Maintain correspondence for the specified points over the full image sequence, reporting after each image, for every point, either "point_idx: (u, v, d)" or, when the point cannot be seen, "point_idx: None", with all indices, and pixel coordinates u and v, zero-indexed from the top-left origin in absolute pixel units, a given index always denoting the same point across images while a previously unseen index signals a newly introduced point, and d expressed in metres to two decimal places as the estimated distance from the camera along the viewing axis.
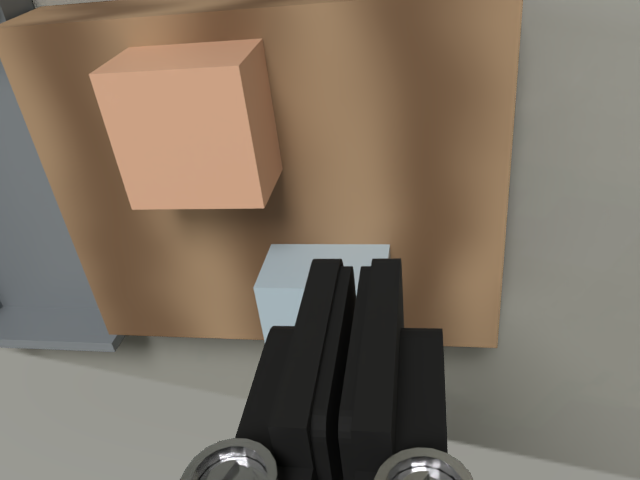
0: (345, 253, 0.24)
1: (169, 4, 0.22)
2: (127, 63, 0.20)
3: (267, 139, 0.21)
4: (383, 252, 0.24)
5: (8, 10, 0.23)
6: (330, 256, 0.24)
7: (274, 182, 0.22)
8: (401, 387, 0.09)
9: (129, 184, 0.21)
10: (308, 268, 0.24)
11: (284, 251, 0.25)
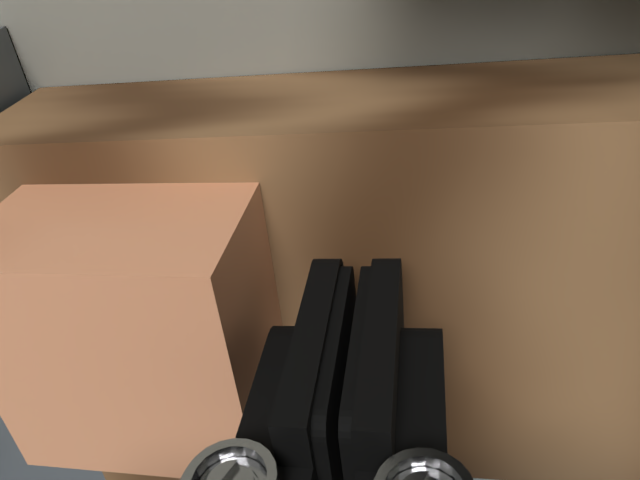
0: None
1: (277, 100, 0.12)
2: (3, 238, 0.10)
3: None
4: None
5: None
6: None
7: None
8: (401, 387, 0.09)
9: (19, 432, 0.12)
10: None
11: None
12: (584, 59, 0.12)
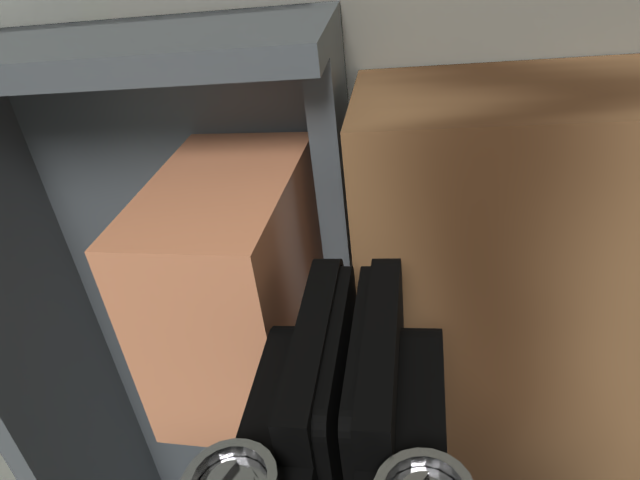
0: None
1: None
2: (217, 149, 0.13)
3: (214, 388, 0.12)
4: None
5: (335, 84, 0.12)
6: None
7: None
8: (401, 387, 0.09)
9: None
10: None
11: None
12: None
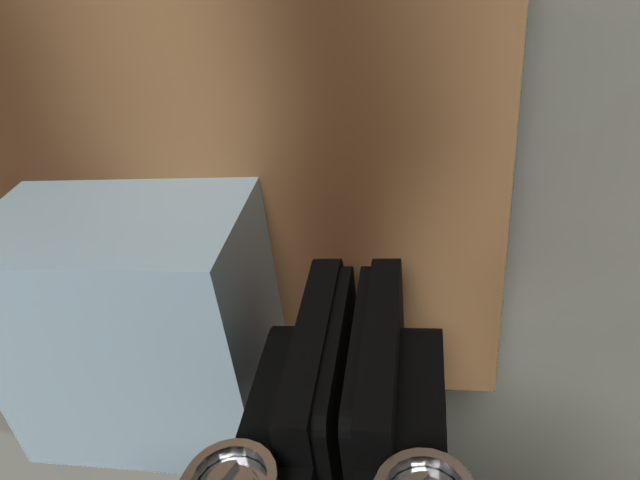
0: (161, 194, 0.11)
1: None
2: None
3: None
4: (240, 191, 0.11)
5: None
6: (125, 202, 0.11)
7: None
8: (401, 387, 0.09)
9: None
10: (64, 225, 0.10)
11: (38, 193, 0.12)
12: None
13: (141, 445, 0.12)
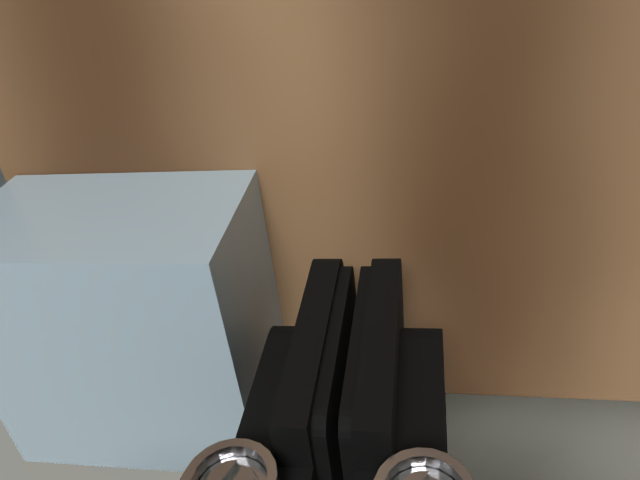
0: (157, 187, 0.11)
1: None
2: None
3: None
4: (238, 184, 0.11)
5: None
6: (120, 195, 0.11)
7: None
8: (401, 387, 0.09)
9: None
10: (59, 219, 0.10)
11: (31, 187, 0.11)
12: None
13: (138, 443, 0.11)
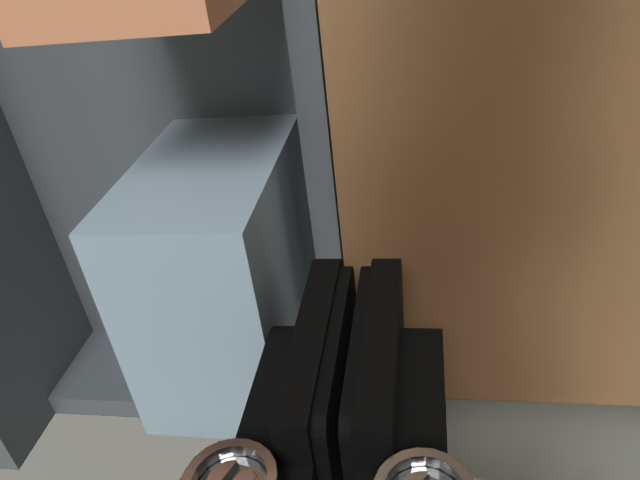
0: (233, 182, 0.11)
1: None
2: None
3: None
4: (212, 227, 0.10)
5: None
6: (227, 168, 0.11)
7: (113, 29, 0.08)
8: (401, 387, 0.09)
9: None
10: (199, 153, 0.12)
11: (268, 126, 0.13)
12: None
13: None
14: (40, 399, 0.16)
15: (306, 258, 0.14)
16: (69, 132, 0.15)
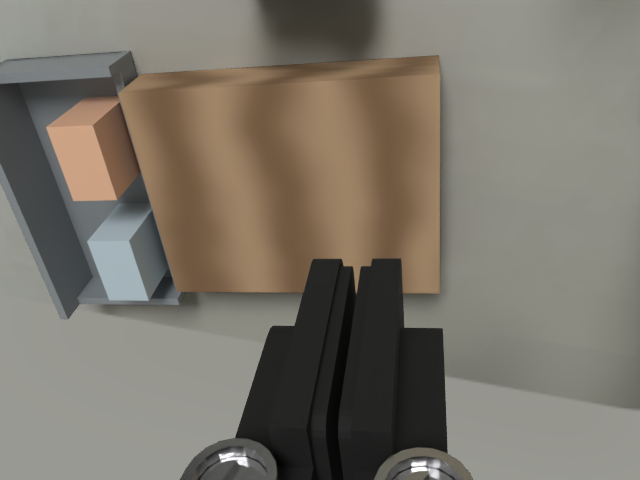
0: (130, 227, 0.41)
1: (229, 77, 0.36)
2: (92, 101, 0.39)
3: (89, 174, 0.37)
4: (122, 239, 0.39)
5: (125, 79, 0.37)
6: (130, 222, 0.41)
7: (97, 198, 0.38)
8: (401, 387, 0.09)
9: None
10: (124, 217, 0.42)
11: (146, 207, 0.43)
12: (335, 62, 0.36)
13: None
14: (74, 297, 0.46)
15: (162, 248, 0.44)
16: (85, 206, 0.44)
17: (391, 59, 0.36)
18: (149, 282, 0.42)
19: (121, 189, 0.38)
